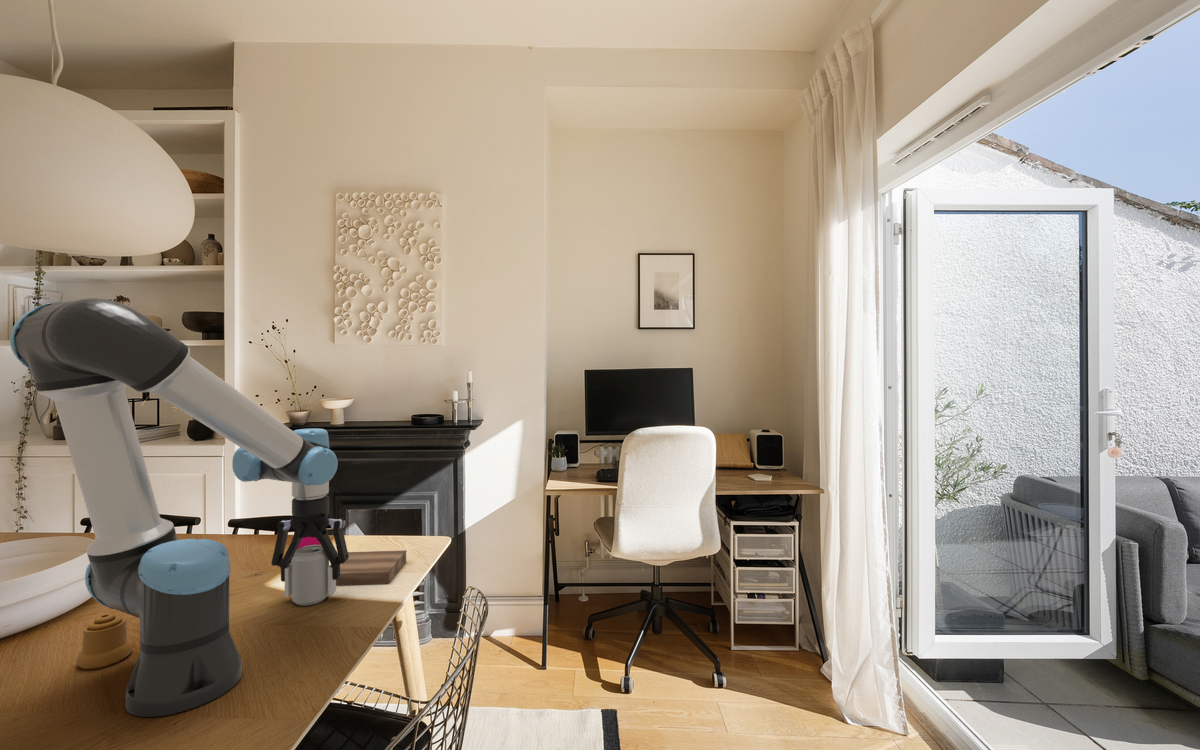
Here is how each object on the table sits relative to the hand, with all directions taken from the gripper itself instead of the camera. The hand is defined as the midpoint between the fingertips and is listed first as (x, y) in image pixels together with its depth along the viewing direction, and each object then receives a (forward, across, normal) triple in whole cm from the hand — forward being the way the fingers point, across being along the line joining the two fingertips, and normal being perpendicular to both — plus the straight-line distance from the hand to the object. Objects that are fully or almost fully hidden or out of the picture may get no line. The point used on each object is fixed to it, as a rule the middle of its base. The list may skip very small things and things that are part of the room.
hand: (310, 594), depth 122 cm
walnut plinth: (+1, -7, -16) cm, 18 cm away
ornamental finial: (+2, +26, +23) cm, 35 cm away
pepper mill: (+2, +13, -28) cm, 31 cm away
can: (+2, 0, 0) cm, 2 cm away
